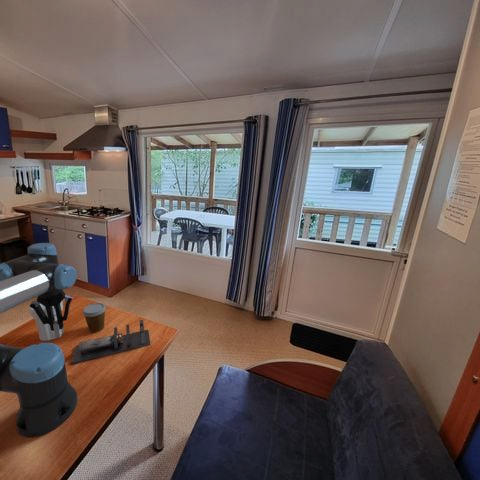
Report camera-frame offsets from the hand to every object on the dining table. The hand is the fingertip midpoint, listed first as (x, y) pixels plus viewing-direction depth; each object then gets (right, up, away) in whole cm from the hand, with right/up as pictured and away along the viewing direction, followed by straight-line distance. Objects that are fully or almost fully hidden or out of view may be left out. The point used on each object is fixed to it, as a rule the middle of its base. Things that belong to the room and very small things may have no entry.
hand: (58, 335), depth 90 cm
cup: (-15, -6, +15) cm, 22 cm away
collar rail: (+16, -10, +11) cm, 22 cm away
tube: (+12, -9, +9) cm, 17 cm away
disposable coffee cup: (+2, -6, +21) cm, 22 cm away
